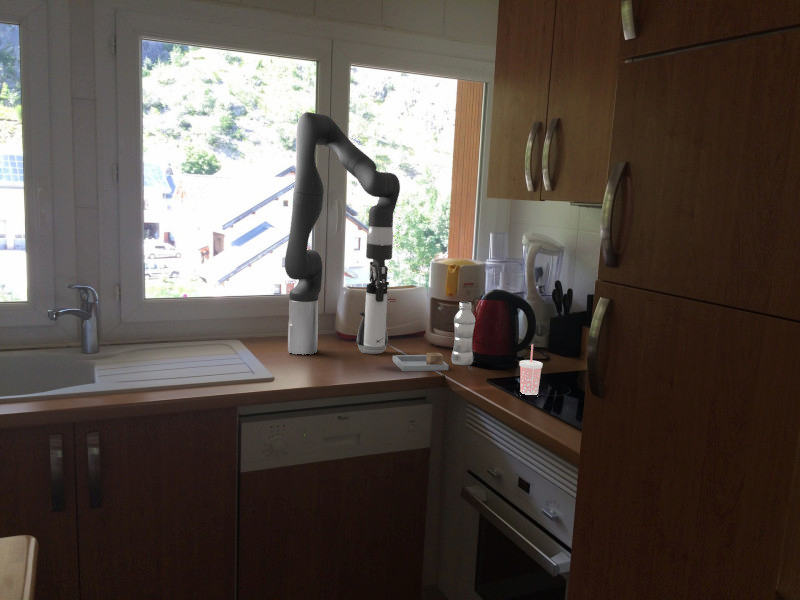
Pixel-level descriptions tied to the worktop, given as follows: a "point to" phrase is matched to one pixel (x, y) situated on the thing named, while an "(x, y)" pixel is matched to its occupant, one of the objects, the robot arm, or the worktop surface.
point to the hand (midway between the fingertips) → (377, 299)
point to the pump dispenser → (361, 338)
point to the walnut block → (434, 359)
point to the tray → (416, 363)
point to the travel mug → (375, 319)
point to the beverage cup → (530, 375)
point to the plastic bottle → (463, 335)
